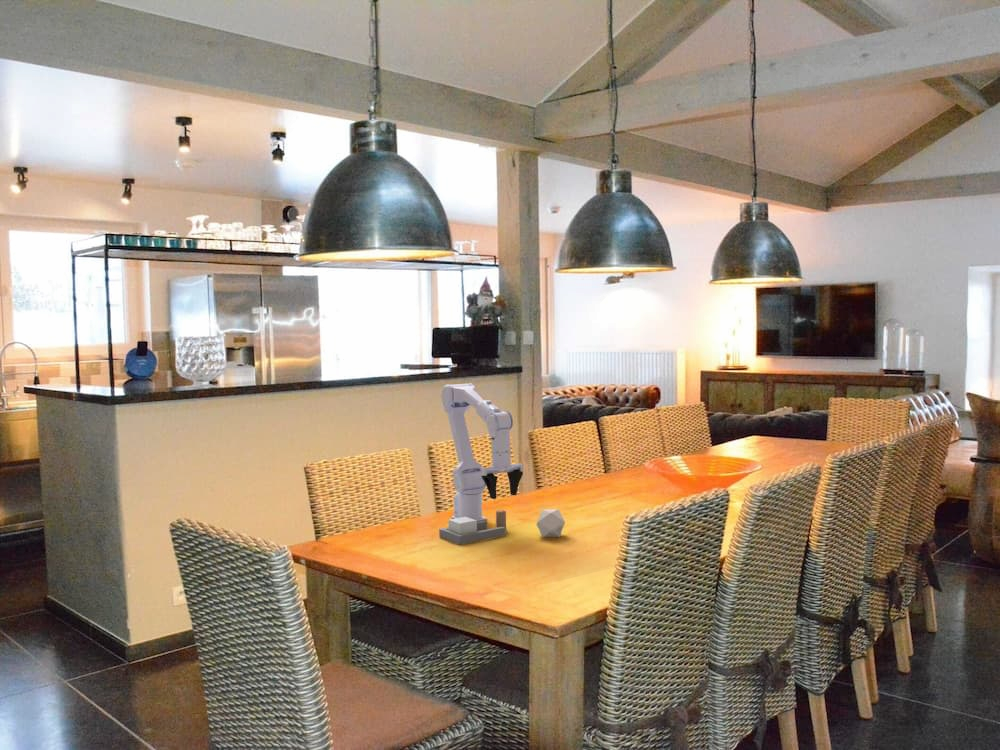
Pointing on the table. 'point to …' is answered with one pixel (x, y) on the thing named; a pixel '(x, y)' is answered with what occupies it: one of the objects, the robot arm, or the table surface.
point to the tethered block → (474, 523)
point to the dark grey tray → (472, 534)
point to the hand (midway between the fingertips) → (503, 496)
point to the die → (550, 523)
